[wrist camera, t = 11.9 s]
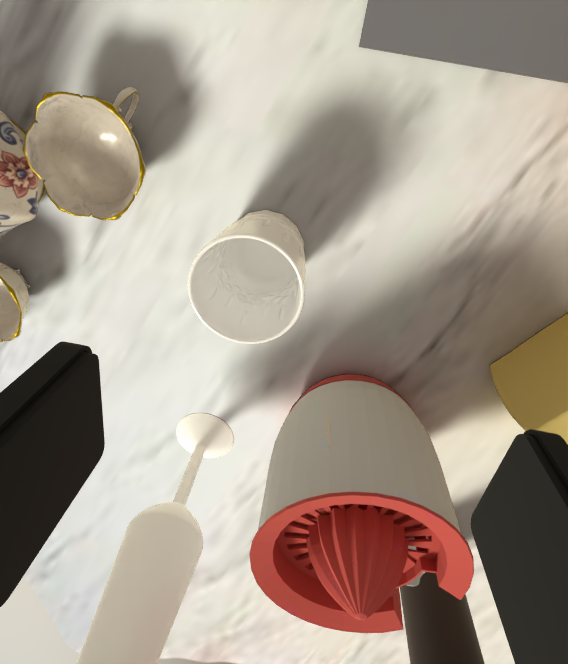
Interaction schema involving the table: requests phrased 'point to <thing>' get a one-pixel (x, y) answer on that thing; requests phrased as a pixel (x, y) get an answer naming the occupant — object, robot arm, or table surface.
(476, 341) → the table surface
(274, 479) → the citrus juicer
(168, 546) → the champagne flute
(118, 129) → the chinaware
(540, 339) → the cheese
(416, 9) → the mat
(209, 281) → the white cup
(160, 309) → the table surface
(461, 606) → the bottle
